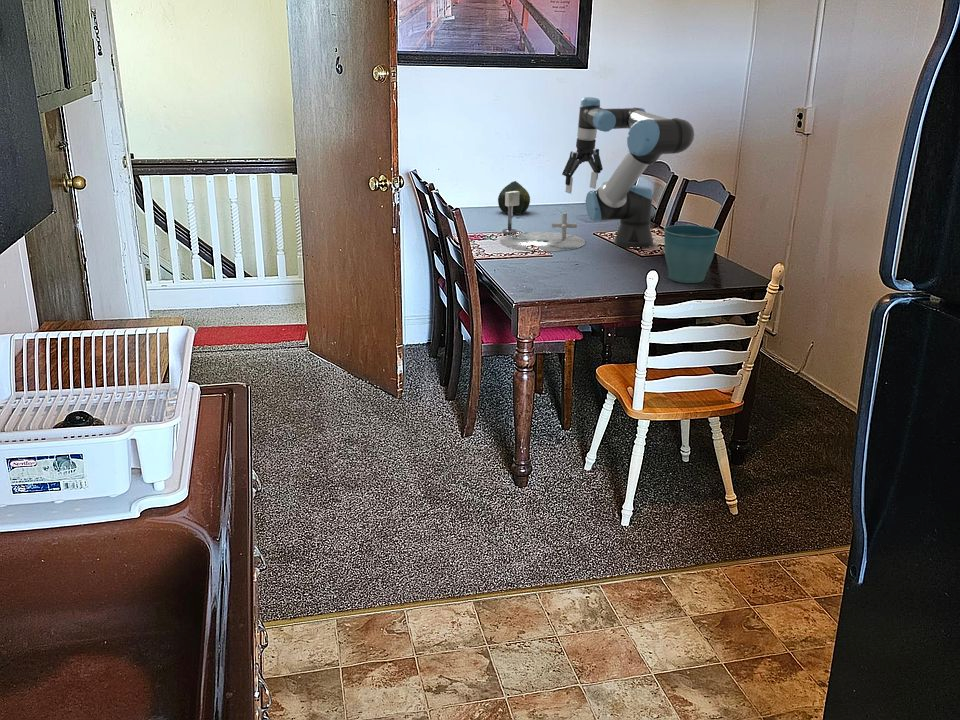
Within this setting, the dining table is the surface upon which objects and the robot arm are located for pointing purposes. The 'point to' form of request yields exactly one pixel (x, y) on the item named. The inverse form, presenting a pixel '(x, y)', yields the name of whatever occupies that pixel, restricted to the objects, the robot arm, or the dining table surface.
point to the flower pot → (689, 251)
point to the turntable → (543, 241)
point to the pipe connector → (564, 225)
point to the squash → (523, 198)
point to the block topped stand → (511, 208)
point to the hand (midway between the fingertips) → (580, 190)
